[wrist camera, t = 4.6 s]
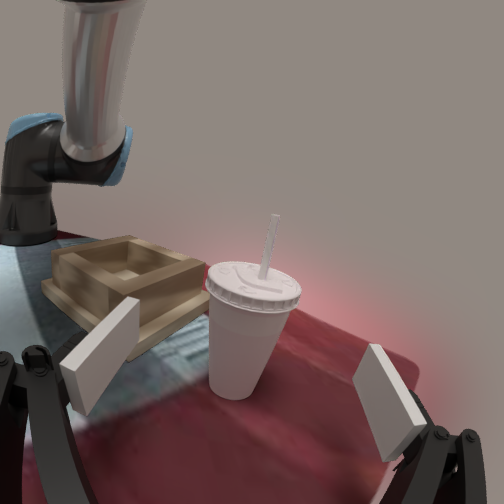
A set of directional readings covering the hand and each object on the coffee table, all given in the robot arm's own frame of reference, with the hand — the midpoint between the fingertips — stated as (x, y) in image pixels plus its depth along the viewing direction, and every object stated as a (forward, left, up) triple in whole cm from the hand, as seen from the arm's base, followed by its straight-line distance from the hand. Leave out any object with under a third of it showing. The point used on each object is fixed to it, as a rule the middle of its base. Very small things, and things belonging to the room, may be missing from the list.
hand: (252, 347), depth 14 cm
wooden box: (-18, +8, -7) cm, 21 cm away
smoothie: (-2, +4, -8) cm, 9 cm away
